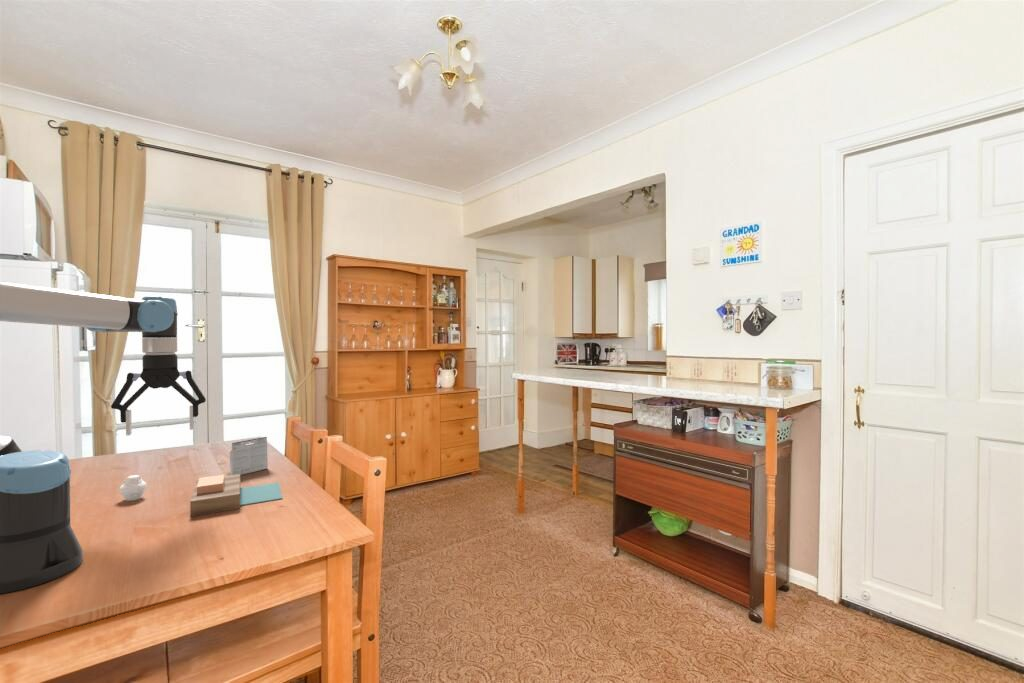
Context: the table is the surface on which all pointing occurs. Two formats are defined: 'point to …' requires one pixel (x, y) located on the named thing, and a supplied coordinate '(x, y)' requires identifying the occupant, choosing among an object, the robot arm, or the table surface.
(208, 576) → the table surface
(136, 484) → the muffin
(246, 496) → the mat
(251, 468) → the ink box
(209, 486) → the block
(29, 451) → the robot arm
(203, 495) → the brown wooden slab
